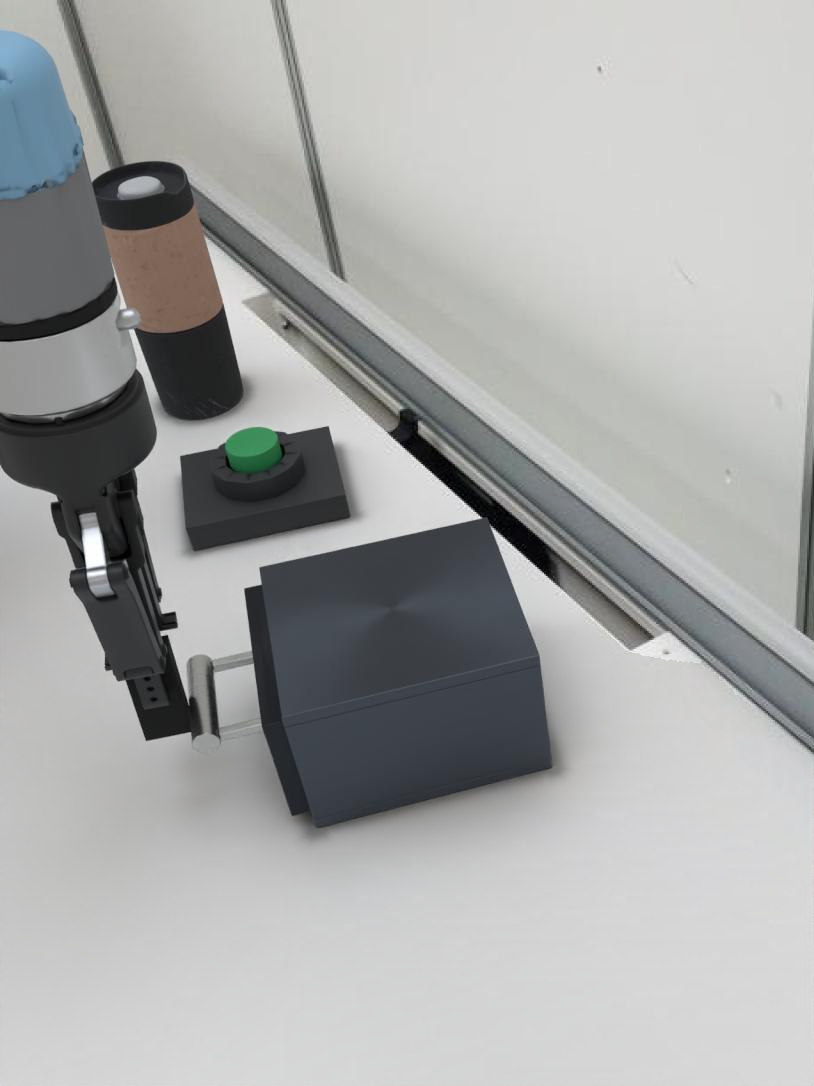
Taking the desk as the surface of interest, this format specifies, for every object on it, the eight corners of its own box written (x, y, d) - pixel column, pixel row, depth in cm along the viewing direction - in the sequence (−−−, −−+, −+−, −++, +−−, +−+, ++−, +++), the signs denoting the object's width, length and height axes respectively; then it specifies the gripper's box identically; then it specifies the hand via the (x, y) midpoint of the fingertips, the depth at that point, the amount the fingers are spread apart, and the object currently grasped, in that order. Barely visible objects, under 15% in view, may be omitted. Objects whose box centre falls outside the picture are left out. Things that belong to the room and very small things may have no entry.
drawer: (216, 835, 75) (180, 746, 70) (204, 692, 84) (171, 604, 79) (512, 760, 78) (499, 669, 73) (470, 630, 87) (455, 540, 82)
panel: (193, 551, 97) (179, 509, 94) (187, 477, 104) (173, 437, 101) (350, 517, 99) (341, 475, 96) (333, 447, 106) (324, 406, 103)
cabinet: (316, 828, 76) (281, 717, 70) (291, 676, 86) (258, 566, 79) (552, 767, 79) (539, 655, 72) (502, 626, 88) (487, 516, 82)
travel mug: (151, 390, 114) (79, 174, 101) (234, 366, 117) (174, 152, 104) (170, 431, 109) (97, 209, 96) (257, 405, 112) (197, 185, 98)
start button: (232, 479, 97) (226, 460, 96) (228, 451, 100) (223, 432, 99) (284, 468, 98) (279, 449, 97) (279, 440, 101) (274, 422, 100)
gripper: (143, 444, 57) (240, 794, 72) (139, 311, 67) (226, 645, 82) (-36, 470, 56) (102, 823, 71) (-13, 331, 65) (104, 668, 80)
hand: (168, 727), depth 76 cm, fingers closed
